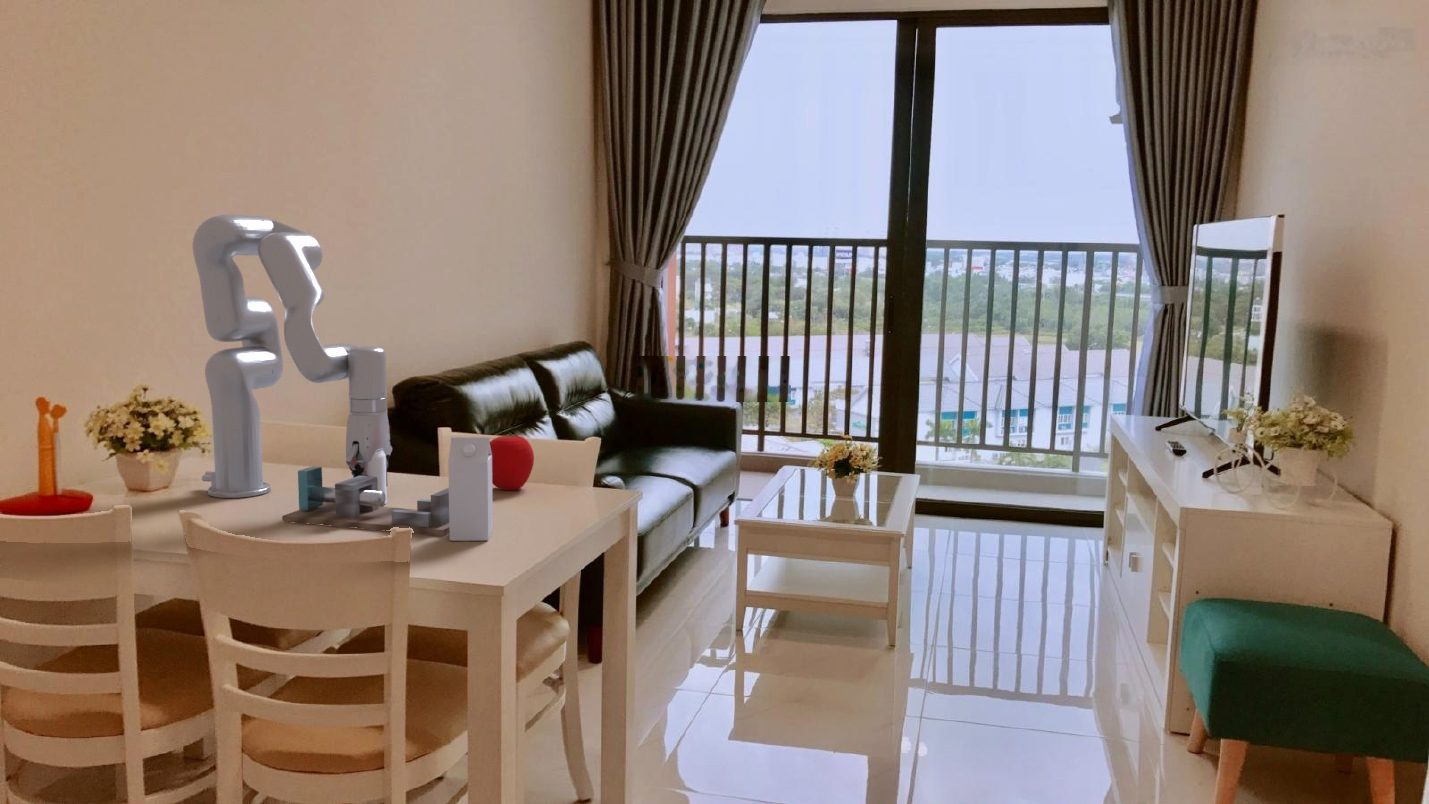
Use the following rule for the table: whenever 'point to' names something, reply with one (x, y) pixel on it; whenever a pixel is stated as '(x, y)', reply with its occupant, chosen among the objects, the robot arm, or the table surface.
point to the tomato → (511, 461)
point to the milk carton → (470, 489)
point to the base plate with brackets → (377, 511)
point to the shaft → (328, 491)
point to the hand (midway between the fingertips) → (370, 489)
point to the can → (377, 469)
